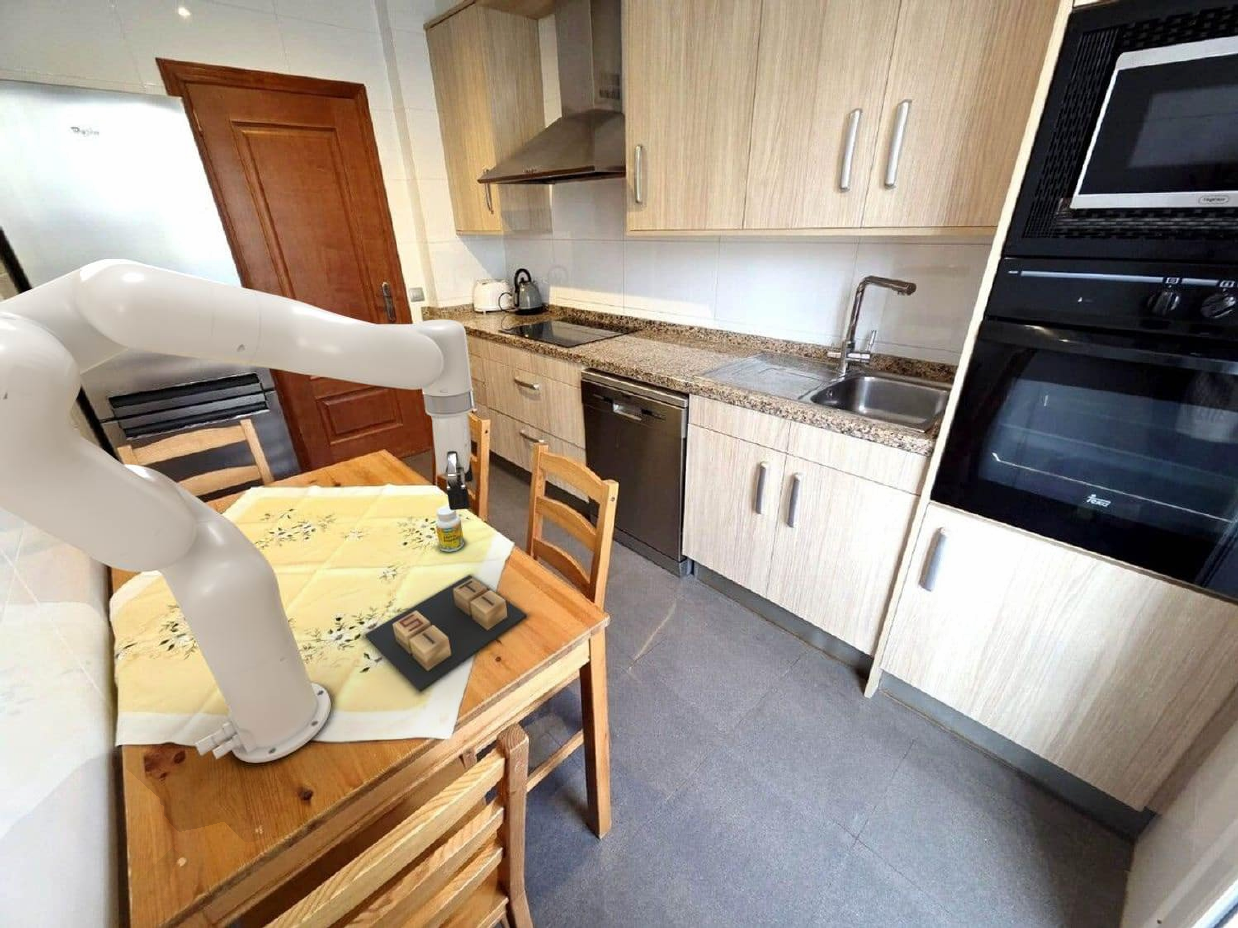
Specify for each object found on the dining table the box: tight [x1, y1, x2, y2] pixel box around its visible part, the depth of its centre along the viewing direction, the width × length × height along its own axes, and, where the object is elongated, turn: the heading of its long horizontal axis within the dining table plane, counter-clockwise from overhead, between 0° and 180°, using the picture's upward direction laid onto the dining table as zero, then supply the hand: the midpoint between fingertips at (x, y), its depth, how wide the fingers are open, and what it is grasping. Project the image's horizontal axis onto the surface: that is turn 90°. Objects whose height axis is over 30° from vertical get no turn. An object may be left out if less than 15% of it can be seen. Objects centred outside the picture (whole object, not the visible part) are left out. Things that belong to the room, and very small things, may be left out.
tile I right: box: [470, 589, 507, 630], centre depth 93 cm, size 4×4×4 cm
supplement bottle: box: [434, 505, 465, 553], centre depth 113 cm, size 5×5×10 cm
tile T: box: [453, 577, 488, 616], centre depth 96 cm, size 4×4×4 cm
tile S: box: [393, 611, 431, 654], centre depth 88 cm, size 4×4×4 cm
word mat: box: [365, 574, 528, 693], centre depth 92 cm, size 22×18×1 cm
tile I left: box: [409, 625, 451, 671], centre depth 84 cm, size 4×4×4 cm
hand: (462, 494), depth 87 cm, fingers open, 9 cm apart
